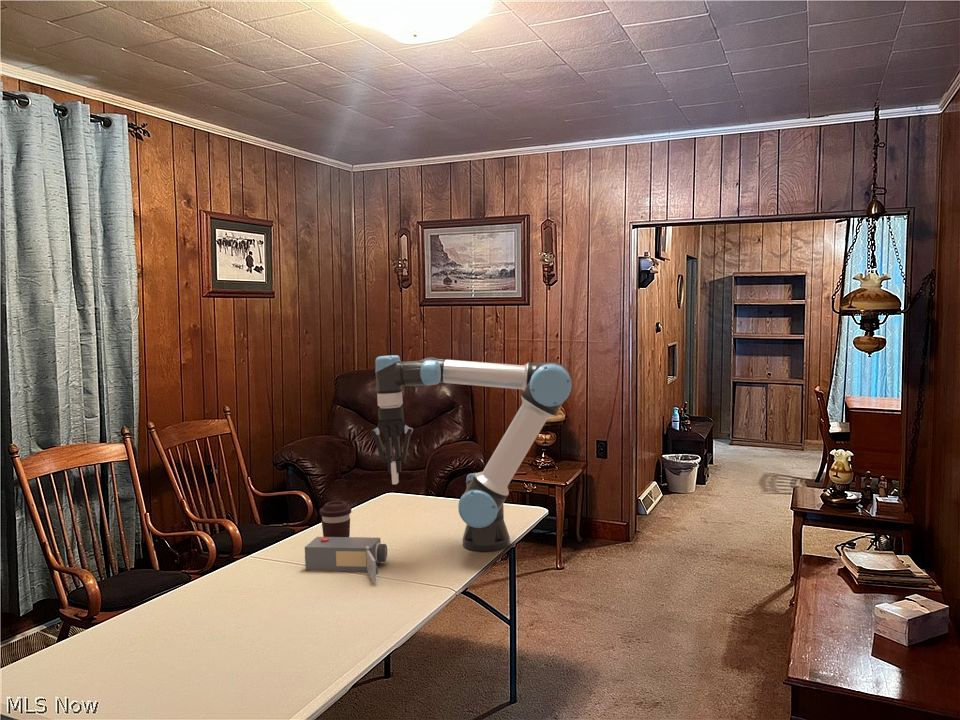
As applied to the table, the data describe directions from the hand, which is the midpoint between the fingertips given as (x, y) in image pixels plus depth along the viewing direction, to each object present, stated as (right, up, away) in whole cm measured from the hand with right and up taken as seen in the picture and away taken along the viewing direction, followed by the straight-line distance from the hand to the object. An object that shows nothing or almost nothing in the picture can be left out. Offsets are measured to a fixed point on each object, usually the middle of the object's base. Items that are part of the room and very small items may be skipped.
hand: (395, 483), depth 219 cm
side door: (-4, -23, -17) cm, 29 cm away
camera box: (-14, -24, -6) cm, 28 cm away
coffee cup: (-20, -23, +10) cm, 32 cm away
